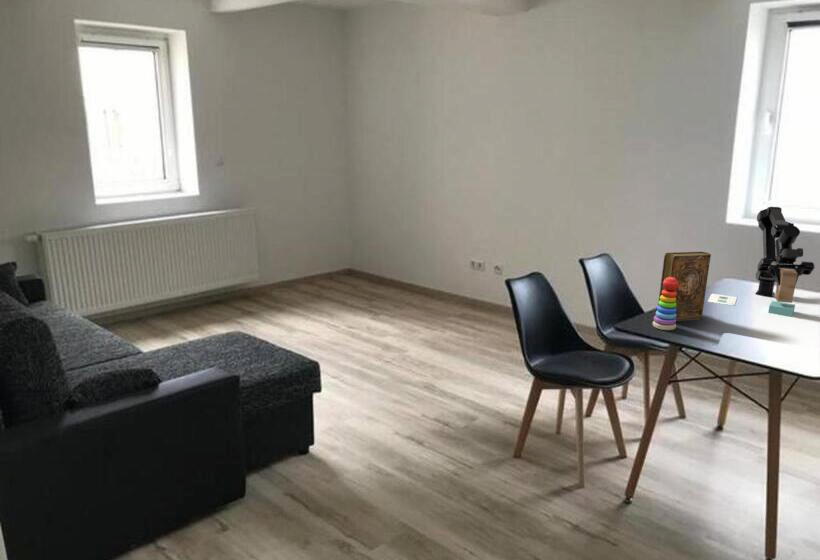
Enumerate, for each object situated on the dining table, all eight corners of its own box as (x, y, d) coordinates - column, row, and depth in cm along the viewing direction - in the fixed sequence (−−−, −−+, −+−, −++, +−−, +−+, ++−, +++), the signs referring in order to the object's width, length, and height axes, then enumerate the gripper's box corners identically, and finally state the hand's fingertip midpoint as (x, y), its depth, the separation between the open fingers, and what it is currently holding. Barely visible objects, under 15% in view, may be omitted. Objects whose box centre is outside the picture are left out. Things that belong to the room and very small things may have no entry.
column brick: (774, 297, 258) (779, 268, 254) (788, 298, 257) (794, 269, 253) (777, 301, 253) (783, 272, 250) (791, 302, 252) (797, 273, 248)
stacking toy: (673, 332, 231) (680, 281, 226) (650, 328, 235) (656, 278, 230) (677, 326, 237) (684, 276, 232) (654, 322, 241) (661, 273, 236)
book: (695, 314, 251) (703, 251, 244) (704, 319, 246) (713, 254, 239) (656, 316, 248) (664, 252, 241) (664, 321, 242) (673, 256, 236)
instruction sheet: (711, 293, 280) (711, 293, 280) (737, 297, 275) (737, 296, 275) (707, 301, 268) (707, 301, 268) (734, 305, 263) (734, 305, 263)
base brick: (771, 307, 261) (772, 300, 261) (793, 311, 257) (795, 304, 256) (768, 312, 255) (769, 305, 254) (791, 316, 251) (792, 309, 250)
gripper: (764, 238, 255) (766, 272, 247) (817, 241, 250) (821, 276, 243) (756, 253, 264) (758, 286, 257) (807, 257, 259) (811, 291, 252)
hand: (786, 285), depth 252 cm, fingers closed on column brick, 5 cm apart
